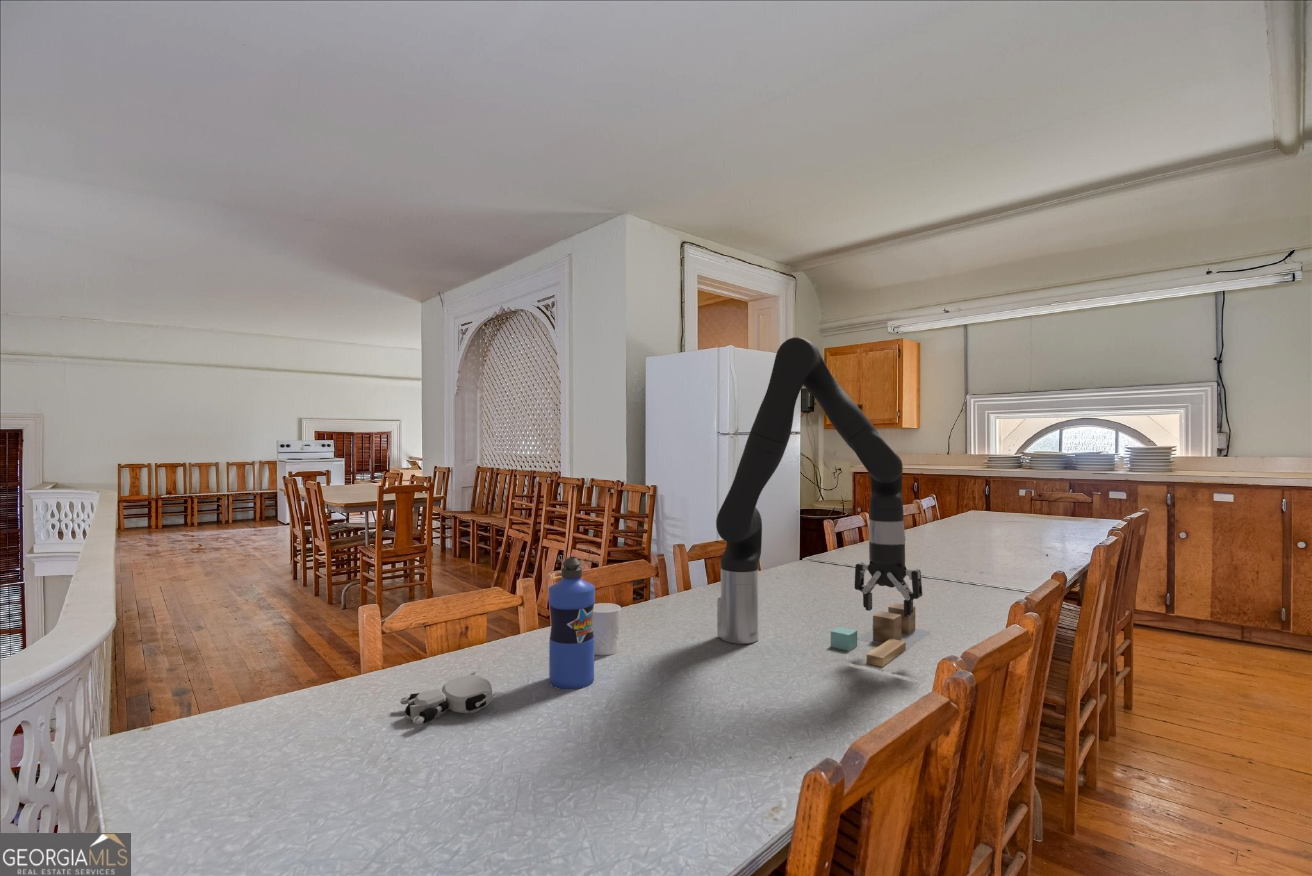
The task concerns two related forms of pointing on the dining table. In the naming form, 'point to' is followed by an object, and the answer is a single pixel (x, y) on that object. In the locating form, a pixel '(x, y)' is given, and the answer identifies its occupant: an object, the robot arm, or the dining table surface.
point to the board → (909, 639)
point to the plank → (886, 652)
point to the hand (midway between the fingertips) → (887, 613)
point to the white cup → (606, 628)
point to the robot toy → (450, 698)
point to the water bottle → (571, 629)
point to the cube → (844, 638)
